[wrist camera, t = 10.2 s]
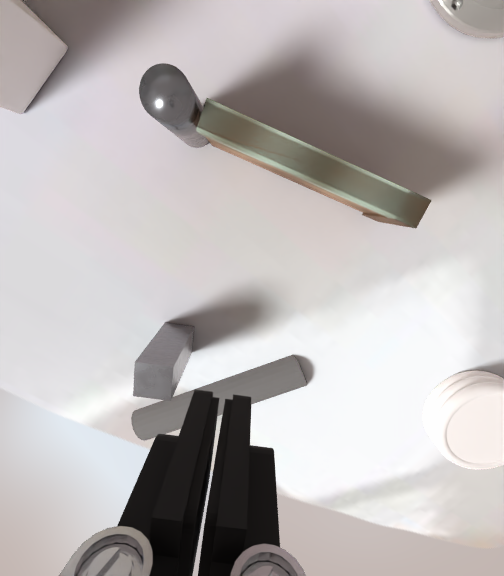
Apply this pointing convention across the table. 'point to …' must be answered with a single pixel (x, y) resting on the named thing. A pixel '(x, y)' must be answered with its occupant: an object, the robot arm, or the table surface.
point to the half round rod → (221, 395)
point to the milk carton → (25, 55)
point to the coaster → (468, 419)
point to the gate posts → (183, 123)
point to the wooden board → (310, 166)
